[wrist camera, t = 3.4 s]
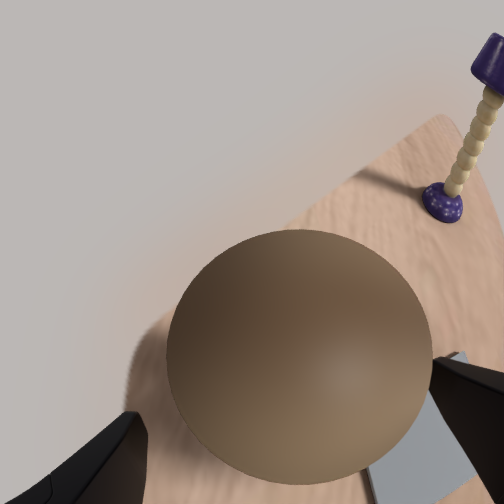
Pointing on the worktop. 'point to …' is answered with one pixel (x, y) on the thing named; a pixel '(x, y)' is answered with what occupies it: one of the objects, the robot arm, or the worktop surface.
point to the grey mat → (422, 461)
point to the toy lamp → (471, 133)
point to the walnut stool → (299, 357)
